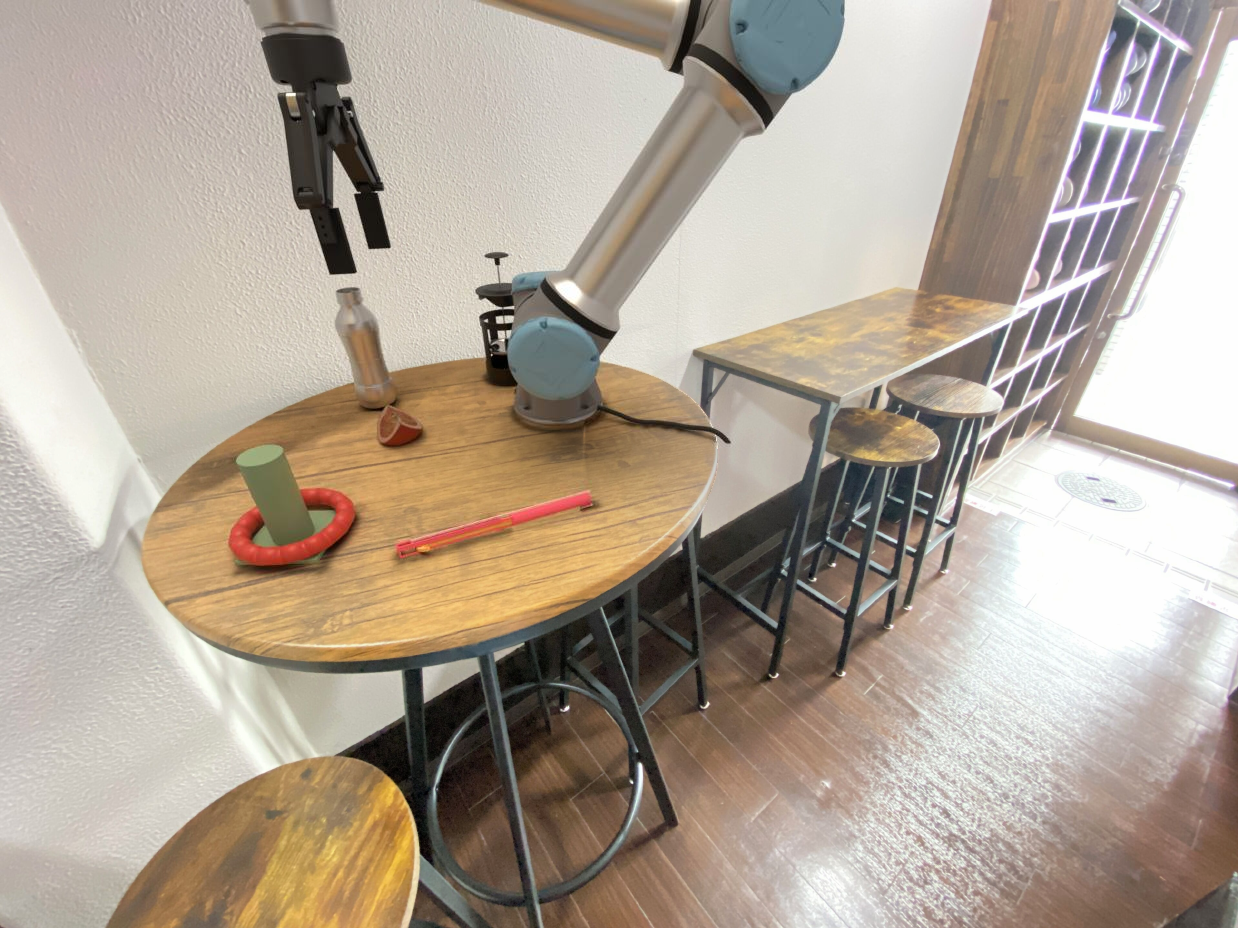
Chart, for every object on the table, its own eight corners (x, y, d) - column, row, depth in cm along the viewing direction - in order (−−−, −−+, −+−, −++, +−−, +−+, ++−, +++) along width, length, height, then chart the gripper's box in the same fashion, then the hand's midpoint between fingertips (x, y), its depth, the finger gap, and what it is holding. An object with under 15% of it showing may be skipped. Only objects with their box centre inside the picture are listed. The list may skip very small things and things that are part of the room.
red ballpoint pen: (398, 552, 63) (400, 567, 59) (394, 536, 63) (396, 550, 59) (584, 499, 72) (597, 509, 68) (582, 484, 72) (595, 493, 67)
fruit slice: (374, 435, 85) (366, 407, 83) (416, 424, 88) (410, 397, 86) (386, 459, 79) (378, 429, 77) (431, 446, 82) (425, 417, 80)
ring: (370, 495, 69) (366, 483, 68) (332, 565, 58) (327, 552, 57) (267, 500, 68) (261, 487, 67) (208, 572, 58) (200, 558, 56)
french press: (501, 391, 99) (484, 262, 86) (474, 376, 105) (454, 253, 92) (551, 374, 106) (542, 251, 93) (523, 361, 111) (511, 244, 99)
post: (351, 519, 68) (321, 433, 61) (320, 569, 60) (281, 477, 53) (278, 520, 67) (240, 434, 60) (238, 571, 60) (189, 479, 53)
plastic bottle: (407, 401, 95) (379, 288, 85) (374, 416, 91) (340, 298, 80) (384, 393, 98) (354, 282, 88) (351, 407, 94) (315, 292, 83)
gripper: (312, 50, 63) (364, 241, 75) (186, 17, 42) (285, 289, 54) (377, 48, 63) (418, 239, 75) (283, 14, 43) (361, 285, 54)
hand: (363, 260), depth 64 cm, fingers open, 13 cm apart
